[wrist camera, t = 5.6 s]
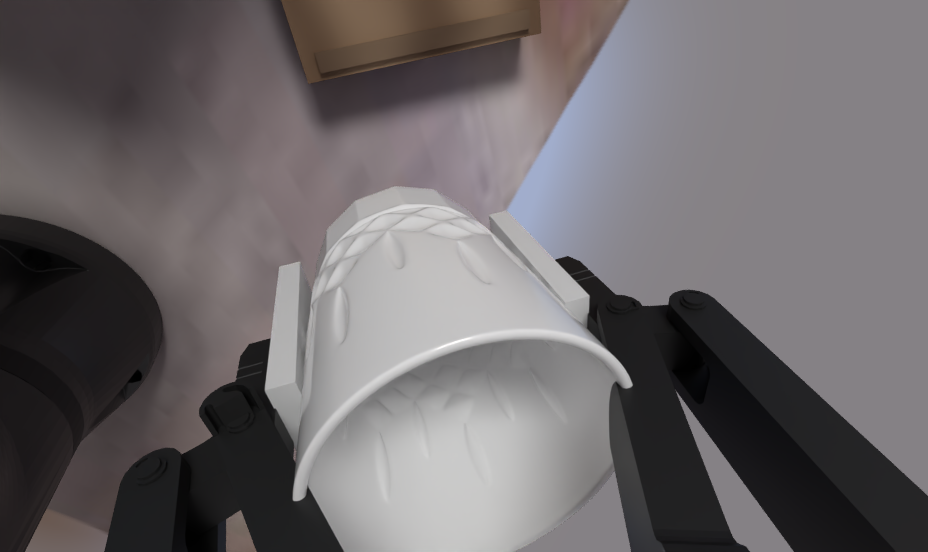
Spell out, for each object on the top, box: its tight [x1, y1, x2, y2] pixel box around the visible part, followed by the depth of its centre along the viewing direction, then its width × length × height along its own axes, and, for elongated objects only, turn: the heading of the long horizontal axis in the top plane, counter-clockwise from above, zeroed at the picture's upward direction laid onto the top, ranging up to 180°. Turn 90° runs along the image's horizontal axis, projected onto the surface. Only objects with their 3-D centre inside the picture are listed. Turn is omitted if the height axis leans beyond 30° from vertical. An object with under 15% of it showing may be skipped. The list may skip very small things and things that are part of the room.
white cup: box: [293, 186, 633, 552], centre depth 14 cm, size 8×8×10 cm
